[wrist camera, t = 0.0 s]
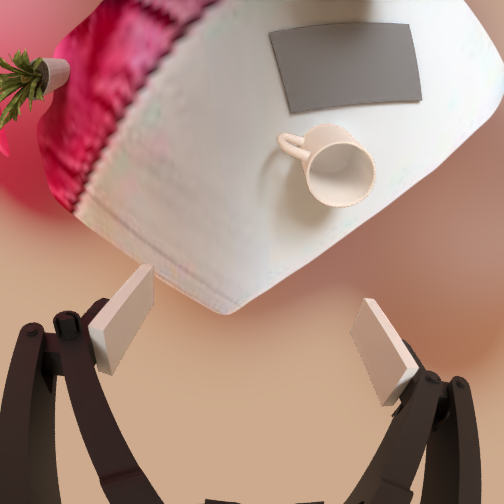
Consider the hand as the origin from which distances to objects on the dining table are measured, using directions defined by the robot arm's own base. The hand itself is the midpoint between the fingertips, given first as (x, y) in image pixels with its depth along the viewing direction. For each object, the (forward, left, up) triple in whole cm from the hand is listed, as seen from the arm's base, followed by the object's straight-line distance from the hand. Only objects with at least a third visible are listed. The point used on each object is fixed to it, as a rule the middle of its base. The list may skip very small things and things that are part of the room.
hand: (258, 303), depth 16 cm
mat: (-17, -5, -28) cm, 33 cm away
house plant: (+18, -35, -28) cm, 48 cm away
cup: (-6, +3, -28) cm, 29 cm away
